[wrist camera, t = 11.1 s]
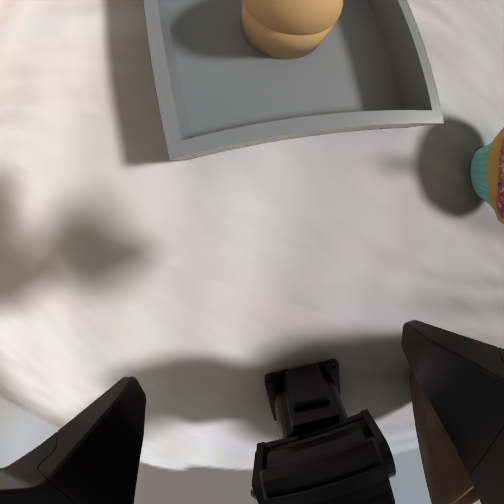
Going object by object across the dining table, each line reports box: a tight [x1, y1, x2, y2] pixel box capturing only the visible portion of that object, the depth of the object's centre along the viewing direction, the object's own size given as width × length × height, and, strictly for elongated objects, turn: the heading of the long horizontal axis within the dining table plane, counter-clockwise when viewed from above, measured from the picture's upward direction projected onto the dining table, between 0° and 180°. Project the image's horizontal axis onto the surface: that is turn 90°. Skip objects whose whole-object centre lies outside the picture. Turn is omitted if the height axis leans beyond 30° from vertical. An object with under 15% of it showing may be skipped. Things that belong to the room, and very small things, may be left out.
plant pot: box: [410, 373, 479, 504], centre depth 17 cm, size 15×15×16 cm
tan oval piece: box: [241, 0, 343, 60], centre depth 11 cm, size 5×5×7 cm
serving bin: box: [143, 0, 444, 160], centre depth 13 cm, size 16×16×4 cm
